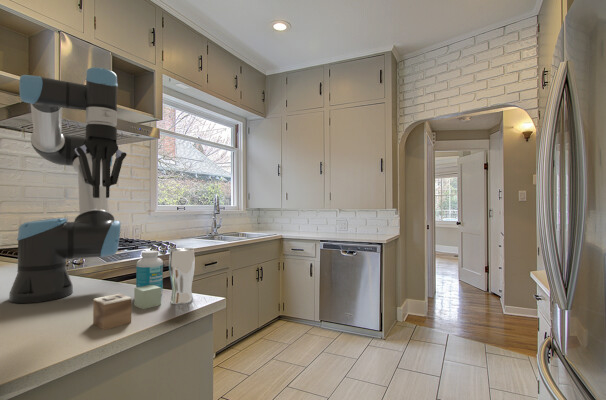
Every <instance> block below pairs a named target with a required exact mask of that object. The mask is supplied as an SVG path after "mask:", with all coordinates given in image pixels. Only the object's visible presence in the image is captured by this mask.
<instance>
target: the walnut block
mask: <svg viewBox="0 0 606 400" xmlns="http://www.w3.org/2000/svg"><path fill="white" fill-rule="evenodd" d="M92 302H93V311H92V312H93V314H92V316H93V317H92V319H93V321H92V323H93V325H94V326H97V328H100V329H102V330H104V331H105V330H108V329H112V328H116V327H120V326H122V325H127V324H130V323H132V297H131V296H129V295H125V294H122V293H115V294H110V295H105V296H101V297H100V296H99V297H96V298H93V301H92Z"/></svg>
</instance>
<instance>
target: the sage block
mask: <svg viewBox="0 0 606 400" xmlns="http://www.w3.org/2000/svg"><path fill="white" fill-rule="evenodd" d="M133 291H134V294H133V295H134V300H133V301H134V302H133V303H134V306H135V307H137V308H139V309H141V310H146V309H150V308H154V307H158V306H161V305H162V294H161V287H158V286H155V285H147V286H142V287H137V288H136V287H134V290H133Z"/></svg>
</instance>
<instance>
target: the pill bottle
mask: <svg viewBox="0 0 606 400" xmlns="http://www.w3.org/2000/svg"><path fill="white" fill-rule="evenodd" d="M158 256H159V251H158V250H144V251H141V257H142V258H140V259H139V260H138V261H137V262H136V267H135V268H136V269H135V270H136V273H135V275H136V277H135V288H137V287H142V286H147V285H155V286H158V287H161V295H162V294H163V290H164V289H163V288H164V285H163V284H164V283H163V281H164V277H163V276H164V261H163V259H161V258H160V257H158Z"/></svg>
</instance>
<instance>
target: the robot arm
mask: <svg viewBox="0 0 606 400" xmlns="http://www.w3.org/2000/svg"><path fill="white" fill-rule="evenodd" d="M118 87H119V85H118V76H117V74H116V73H115V72H114V71H113V70H109V69H107V68H103V67H98V66H95V67H89V68H88V69H86V74H85V84H84V83H77V82H72V81H71V82H70V81H65V80H61V79H55V78H49V77H43V76H39V75H29V74H22V75H21V76H20V77H19V87H18V88H19V89H18V90H19V99H20V100H21V101H22V102H23V103H27V104H30V111H31V120H32V129H33V132H32V133H31V135H30V143H31V146H32V148H33V149H34V151H35V152H36V153H37V154H38V155H39V156H41V157H42V158H43V159H44V160H47V161H48V162H49V163H50V162H51V163H53V164H54V165H55V164H56V165H59V166H71V167H72V168H73V169H74V171H75V172H77V175H78V176H77V182H78V183H77V185H78V208H79V209H78V210H79V214H78V215H76V217H75V218H74V221H68V219H67V218H66V217H56V218H47V219H46V218H45V219H38V220H33V221H27V222H24V223H22V224H20V225H19V227H18V234H17V238H16V240H17V245H18V246H17V274H16V277H15V279H14V281H13V283H12V286H11V289H10V291H9V299H8V300H9V302H11V303H16V304H31V303H33V304H34V303H40V302H41V303H43V302H49V301H53V300H57V299H62V298H66V297H68V296H70V295H72V294H73V293H74V290H73V289H74V287H73V286H74V285H73V283H72V279H71V278H70V275H69V273H68V270H67V260H74V259H78V260H79V259H86V258H87V259H89V258H99V257H100V258H104V257H109V256H115V254H117V253H118V250H119V246H120V245H119V243H120V236H121V226H122V225H121V221H120V220H116V219H115V216H114V215H113V214H112V213H111V212H109V203H108V199H109V198H110V187H111V186H114V185H117V184H118V180H119V176H120V172H121V169H122V165H123V162H124V159H126V157H127V153H126V152H123V151H122V150H121V149H119V145H118V143H117V141H118V128H116V127H117V126H118V125H117V124H118V109H117V108H118V107H117V106H118V105H117V104H118ZM63 108H65V109H70V110H79V111H85V123H86V125H85V136H82V135H74V134H73V135H70V134H63V133H62V128H63V127H62V126H63V125H62V122H63V117H62V116H63ZM114 155H115V159H114V162H113V156H114ZM112 165H113V166H112ZM111 167H112V170H111Z"/></svg>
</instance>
